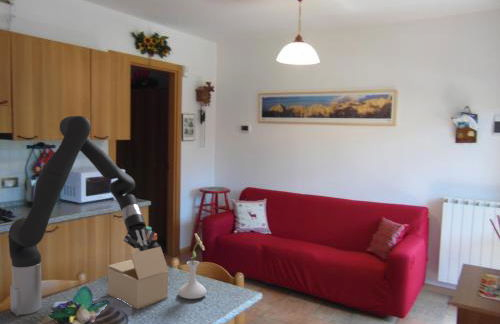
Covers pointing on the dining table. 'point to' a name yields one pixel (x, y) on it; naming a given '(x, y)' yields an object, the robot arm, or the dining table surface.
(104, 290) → the dining table surface
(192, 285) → the flower in vase
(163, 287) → the carton
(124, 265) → the back flap
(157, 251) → the front flap
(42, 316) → the dining table surface
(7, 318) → the dining table surface
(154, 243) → the vinegar
